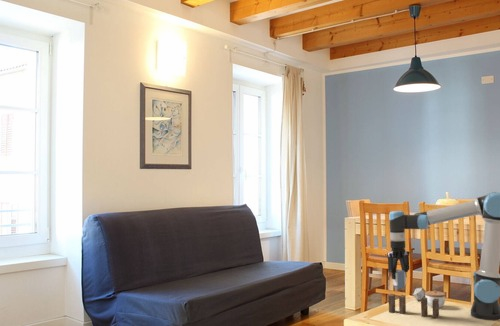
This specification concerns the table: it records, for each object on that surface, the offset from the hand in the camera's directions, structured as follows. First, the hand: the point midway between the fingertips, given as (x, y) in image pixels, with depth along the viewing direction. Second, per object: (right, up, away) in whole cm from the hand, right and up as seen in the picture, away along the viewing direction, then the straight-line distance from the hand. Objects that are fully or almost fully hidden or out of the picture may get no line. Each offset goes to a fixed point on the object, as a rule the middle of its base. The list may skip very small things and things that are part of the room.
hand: (399, 284), depth 270 cm
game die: (+21, -17, +31) cm, 41 cm away
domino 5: (+17, -16, -5) cm, 24 cm away
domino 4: (+12, -16, -2) cm, 20 cm away
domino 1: (-2, -16, +7) cm, 18 cm away
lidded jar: (+25, -17, +16) cm, 34 cm away
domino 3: (+3, -16, +4) cm, 17 cm away
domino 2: (0, -2, 0) cm, 2 cm away
